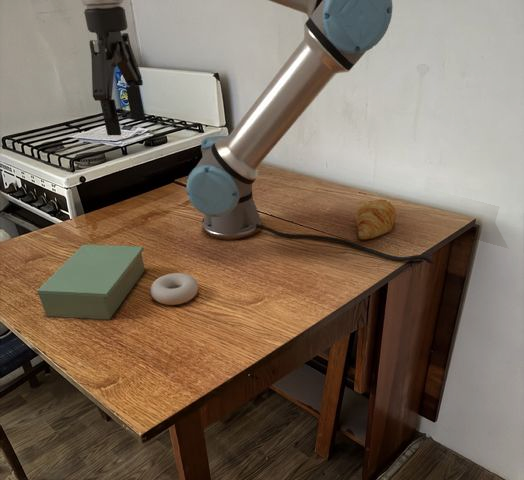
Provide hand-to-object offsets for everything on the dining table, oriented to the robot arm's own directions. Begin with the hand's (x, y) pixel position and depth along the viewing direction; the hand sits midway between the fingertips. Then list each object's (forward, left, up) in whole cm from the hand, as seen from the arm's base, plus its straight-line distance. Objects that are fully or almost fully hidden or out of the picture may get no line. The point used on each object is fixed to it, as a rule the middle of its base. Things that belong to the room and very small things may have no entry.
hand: (126, 126), depth 107 cm
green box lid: (+4, +21, -23) cm, 32 cm away
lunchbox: (+4, +21, -29) cm, 36 cm away
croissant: (-55, -17, -29) cm, 64 cm away
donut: (-13, +21, -29) cm, 38 cm away
